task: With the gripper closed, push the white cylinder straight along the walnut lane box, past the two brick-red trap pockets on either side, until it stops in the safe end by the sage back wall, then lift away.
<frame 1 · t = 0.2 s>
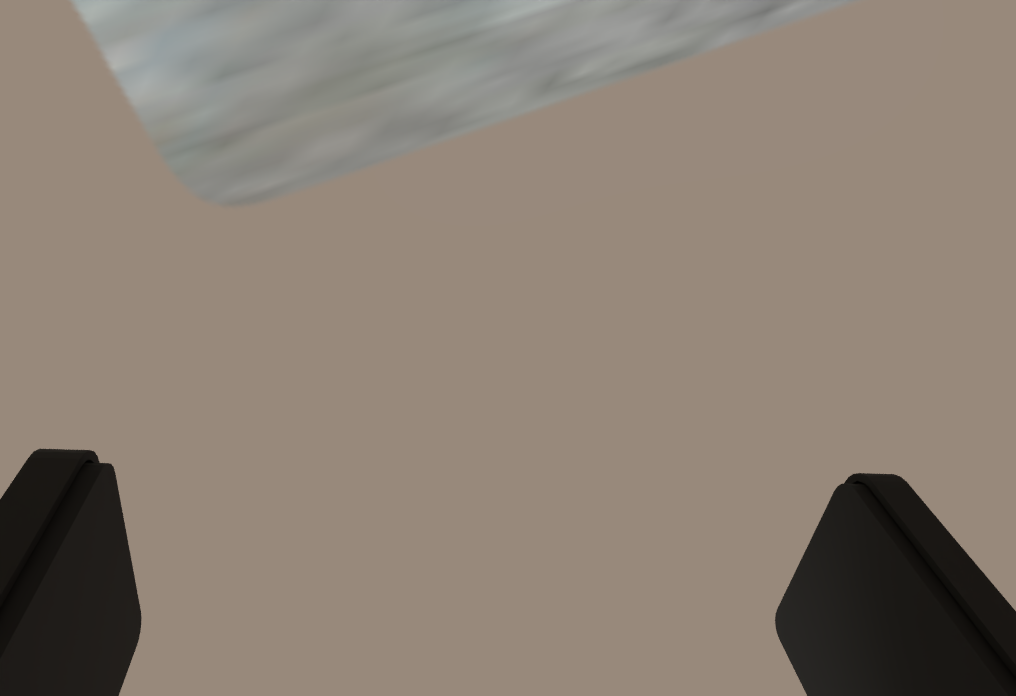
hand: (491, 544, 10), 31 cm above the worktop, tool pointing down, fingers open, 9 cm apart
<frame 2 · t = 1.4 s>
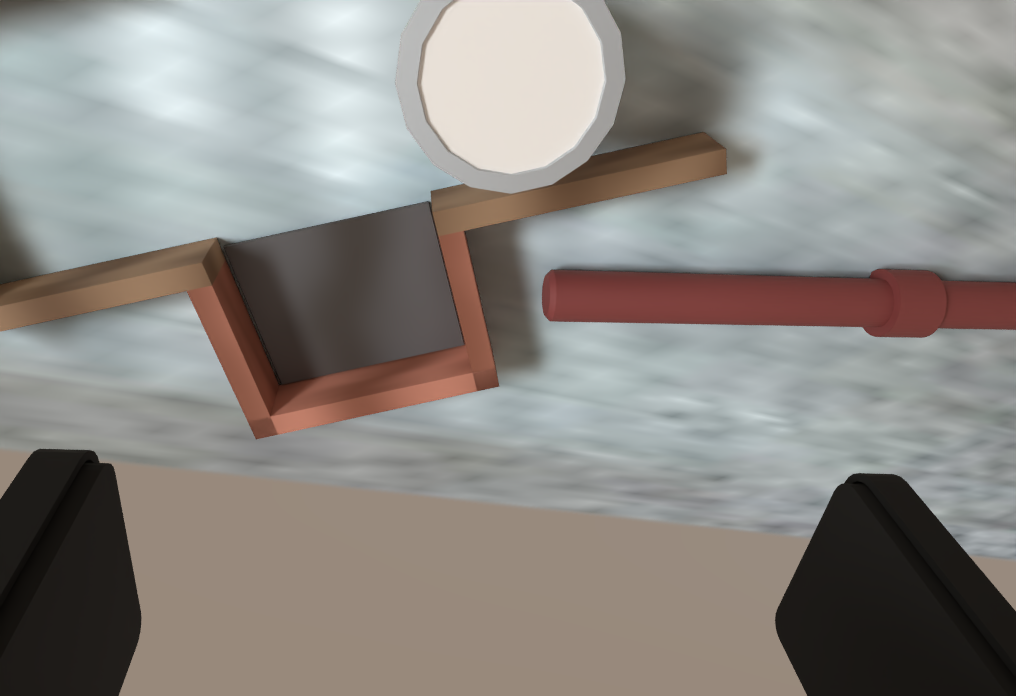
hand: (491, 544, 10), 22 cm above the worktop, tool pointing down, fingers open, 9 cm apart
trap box: (282, 90, 27), on the worktop
white cylinder: (489, 44, 28), resting in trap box
red collared rod: (982, 289, 36), on the worktop
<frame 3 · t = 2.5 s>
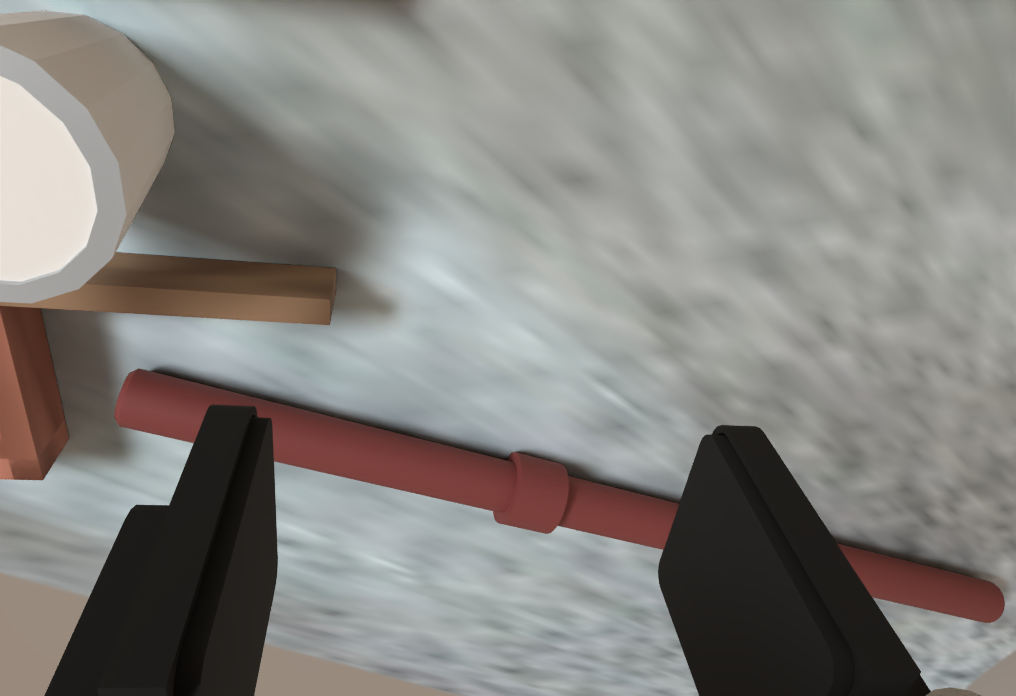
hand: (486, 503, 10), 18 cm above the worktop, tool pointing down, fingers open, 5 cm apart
white cylinder: (83, 105, 23), resting in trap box
red collared rod: (629, 492, 36), on the worktop
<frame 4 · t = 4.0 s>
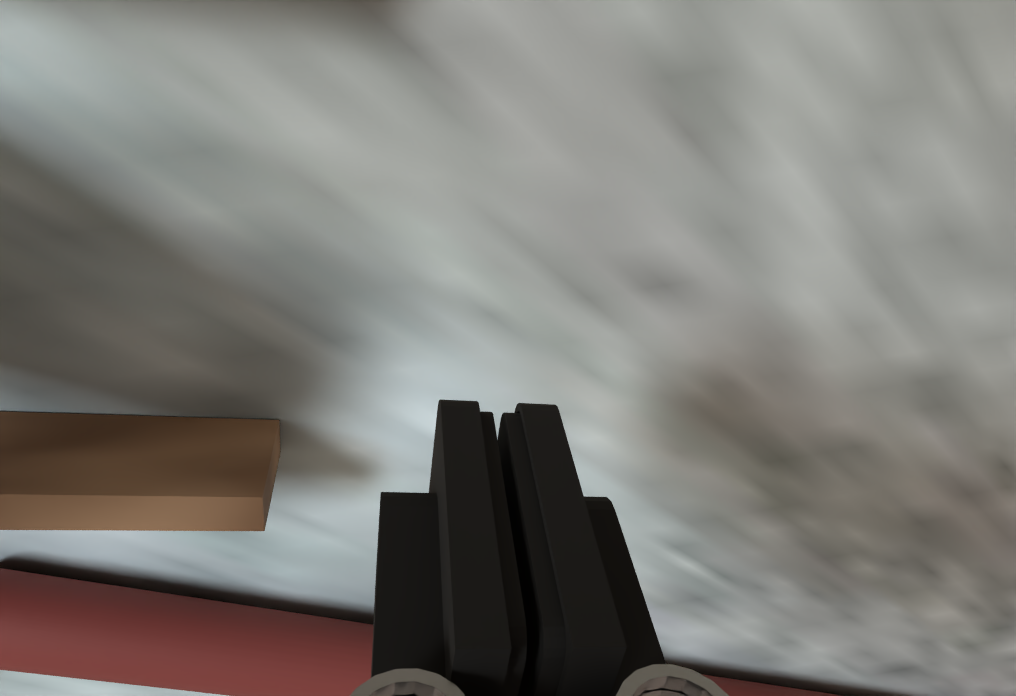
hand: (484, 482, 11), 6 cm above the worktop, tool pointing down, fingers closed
red collared rod: (698, 664, 26), on the worktop
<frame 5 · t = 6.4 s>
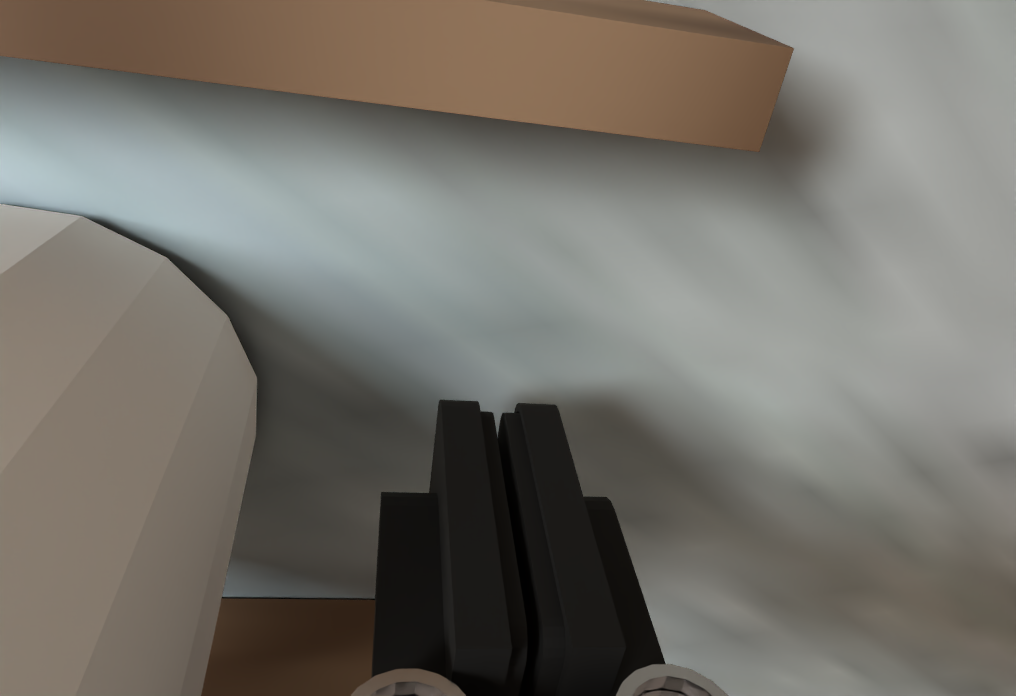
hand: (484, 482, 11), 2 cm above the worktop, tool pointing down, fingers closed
white cylinder: (68, 377, 11), resting in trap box, touching gripper
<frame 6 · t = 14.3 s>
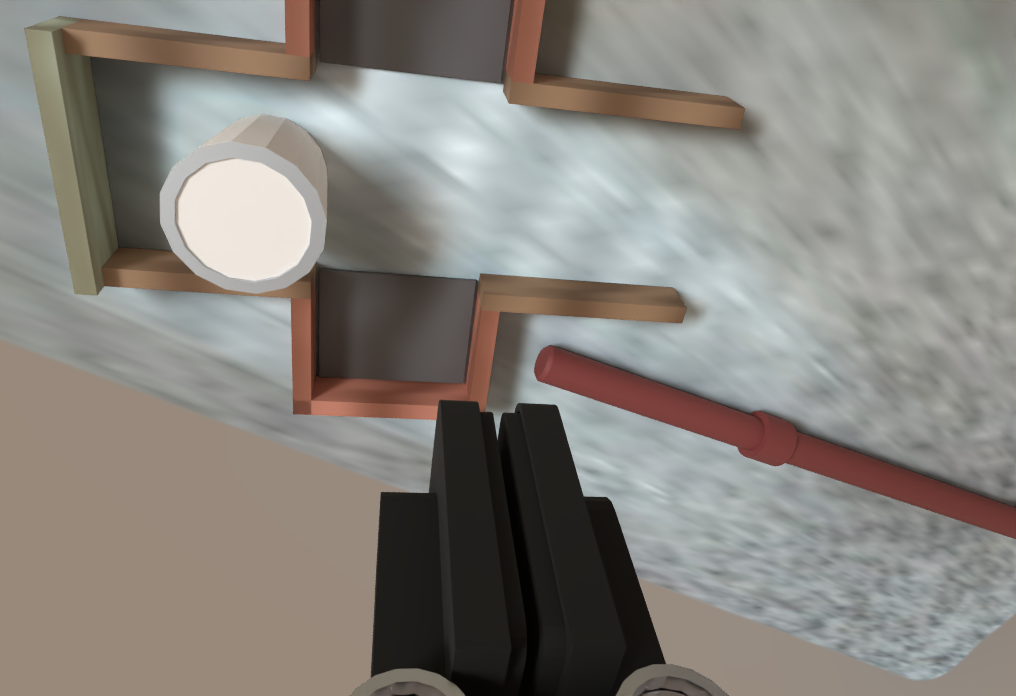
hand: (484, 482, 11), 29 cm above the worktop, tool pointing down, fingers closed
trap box: (405, 180, 38), on the worktop
white cylinder: (271, 169, 37), resting in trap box
red collared rod: (818, 444, 52), on the worktop
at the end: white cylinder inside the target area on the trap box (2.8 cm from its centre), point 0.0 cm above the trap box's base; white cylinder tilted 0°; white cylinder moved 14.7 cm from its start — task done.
